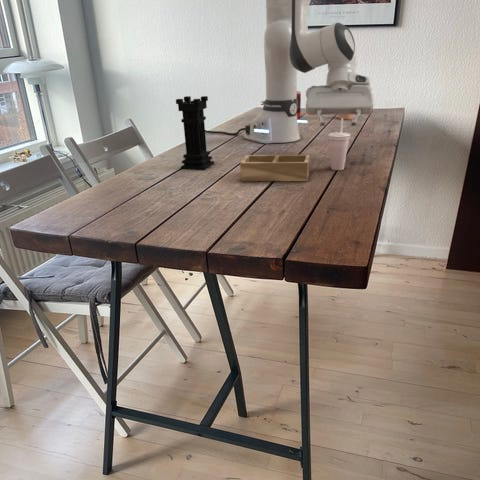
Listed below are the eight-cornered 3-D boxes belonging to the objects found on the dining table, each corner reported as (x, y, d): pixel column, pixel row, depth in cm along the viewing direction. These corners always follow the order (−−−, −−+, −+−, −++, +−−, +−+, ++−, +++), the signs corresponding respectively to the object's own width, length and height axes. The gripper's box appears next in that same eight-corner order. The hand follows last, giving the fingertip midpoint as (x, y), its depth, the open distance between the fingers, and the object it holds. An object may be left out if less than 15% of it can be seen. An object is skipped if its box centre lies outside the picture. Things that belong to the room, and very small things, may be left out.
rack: (246, 172, 149) (246, 155, 146) (309, 172, 146) (309, 154, 143) (241, 181, 141) (240, 163, 138) (307, 181, 137) (307, 162, 135)
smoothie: (348, 171, 144) (351, 120, 137) (326, 171, 146) (328, 120, 138) (348, 165, 150) (351, 116, 143) (327, 165, 151) (329, 116, 144)
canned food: (281, 117, 234) (281, 91, 228) (298, 116, 234) (299, 90, 229) (284, 119, 227) (284, 93, 222) (301, 118, 228) (302, 92, 222)
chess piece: (214, 163, 160) (209, 96, 150) (204, 169, 154) (198, 99, 144) (191, 162, 163) (185, 96, 152) (181, 168, 156) (173, 99, 146)
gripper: (306, 79, 152) (303, 118, 149) (375, 77, 149) (373, 117, 146) (306, 93, 158) (303, 131, 155) (373, 92, 155) (371, 131, 152)
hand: (337, 124), depth 150 cm, fingers open, 8 cm apart
